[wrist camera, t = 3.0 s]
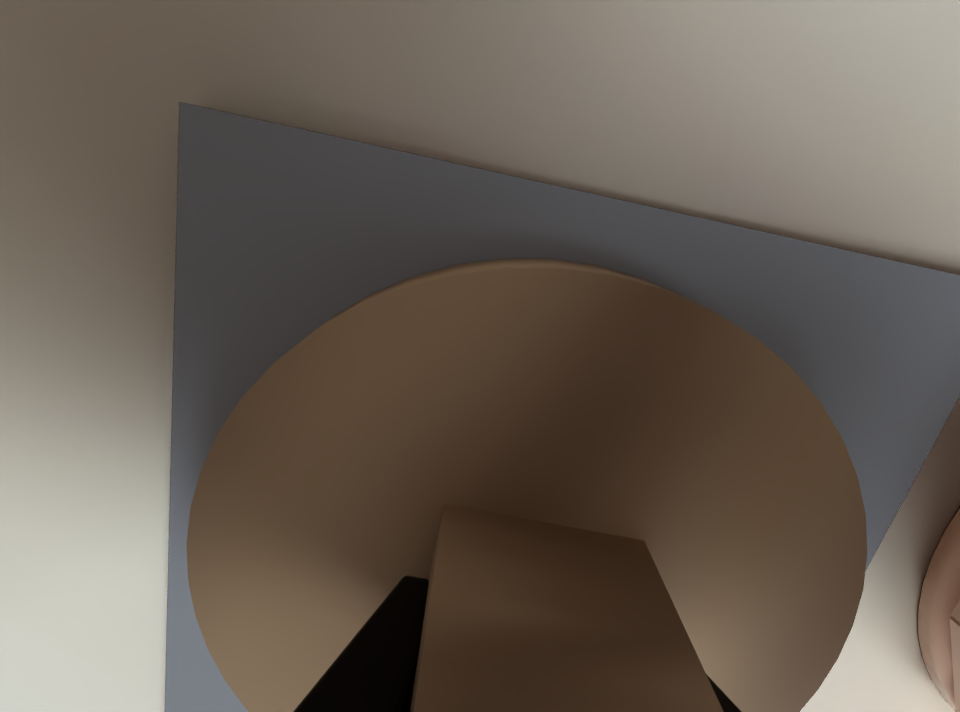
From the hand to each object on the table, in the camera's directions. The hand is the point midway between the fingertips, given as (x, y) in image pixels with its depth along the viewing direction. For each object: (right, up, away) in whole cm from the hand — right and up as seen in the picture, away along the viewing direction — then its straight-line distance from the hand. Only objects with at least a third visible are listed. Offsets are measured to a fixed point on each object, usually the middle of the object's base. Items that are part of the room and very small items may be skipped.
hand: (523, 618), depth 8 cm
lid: (0, 0, +1) cm, 2 cm away
